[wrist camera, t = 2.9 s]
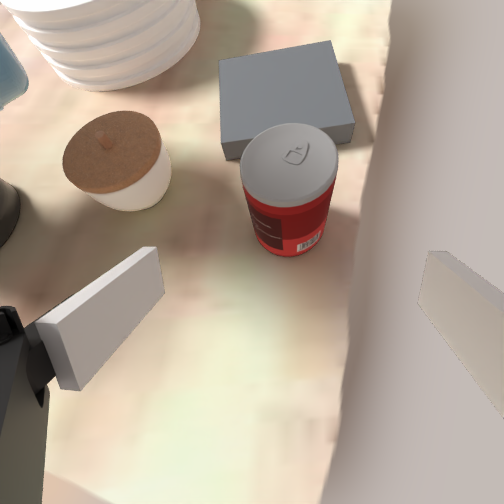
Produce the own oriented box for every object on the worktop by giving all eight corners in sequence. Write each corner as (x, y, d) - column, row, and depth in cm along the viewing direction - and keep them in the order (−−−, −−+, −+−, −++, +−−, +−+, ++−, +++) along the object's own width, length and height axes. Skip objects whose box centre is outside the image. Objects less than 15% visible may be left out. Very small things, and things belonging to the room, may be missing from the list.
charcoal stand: (226, 160, 37) (220, 143, 34) (223, 80, 43) (218, 60, 40) (350, 142, 35) (355, 122, 32) (328, 62, 42) (330, 40, 39)
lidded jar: (135, 150, 40) (92, 88, 31) (198, 169, 37) (170, 107, 28) (90, 210, 36) (27, 160, 28) (155, 237, 33) (108, 191, 25)
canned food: (330, 204, 32) (348, 127, 22) (315, 267, 29) (327, 212, 19) (266, 192, 34) (256, 116, 24) (246, 250, 31) (225, 192, 21)
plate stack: (61, 19, 58) (10, -59, 47) (190, -18, 57) (168, -105, 47) (49, 110, 46) (-22, 33, 36) (211, 65, 45) (187, -27, 35)
